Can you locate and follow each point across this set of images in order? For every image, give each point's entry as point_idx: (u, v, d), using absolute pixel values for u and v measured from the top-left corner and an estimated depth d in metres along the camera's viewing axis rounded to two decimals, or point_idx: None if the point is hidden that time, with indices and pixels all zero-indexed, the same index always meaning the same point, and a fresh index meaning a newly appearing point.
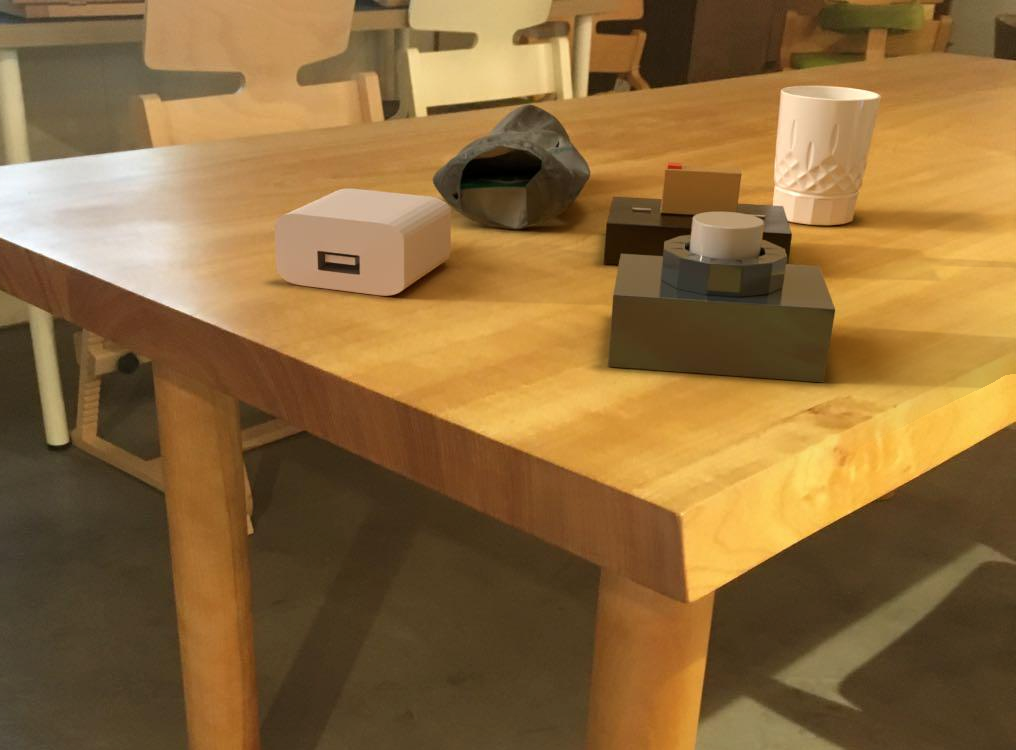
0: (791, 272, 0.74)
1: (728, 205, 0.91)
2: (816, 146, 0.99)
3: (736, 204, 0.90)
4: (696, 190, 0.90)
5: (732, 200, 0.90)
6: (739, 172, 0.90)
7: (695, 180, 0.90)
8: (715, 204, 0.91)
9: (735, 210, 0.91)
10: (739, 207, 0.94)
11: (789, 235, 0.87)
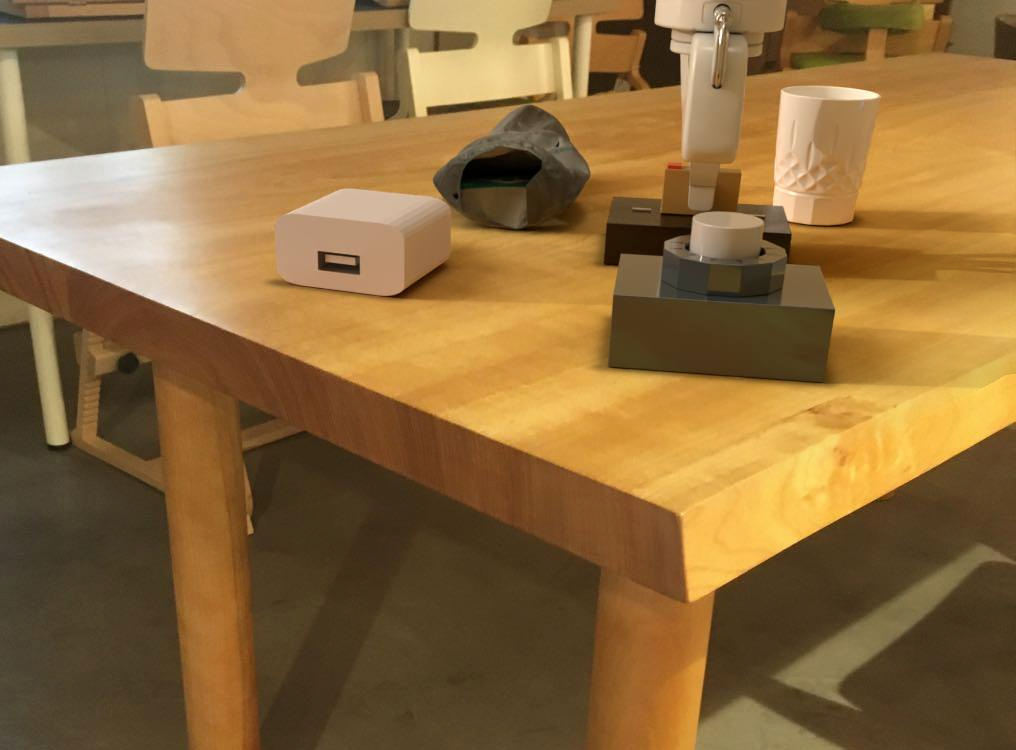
0: (791, 272, 0.74)
1: (728, 205, 0.91)
2: (816, 146, 0.99)
3: (736, 204, 0.90)
4: None
5: (732, 200, 0.90)
6: (739, 172, 0.90)
7: None
8: (715, 204, 0.91)
9: (735, 210, 0.91)
10: (739, 207, 0.94)
11: (789, 235, 0.87)
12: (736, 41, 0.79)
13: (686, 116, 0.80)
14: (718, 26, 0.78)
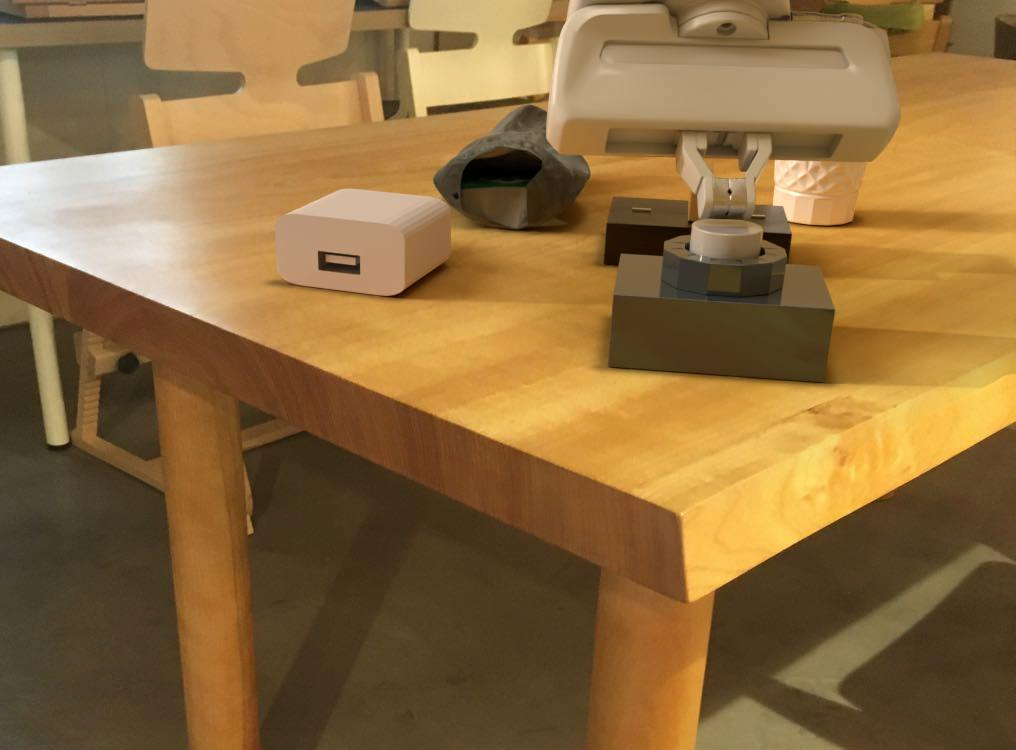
0: (791, 272, 0.74)
1: None
2: None
3: None
4: None
5: None
6: None
7: None
8: None
9: None
10: None
11: (789, 235, 0.87)
12: None
13: (893, 86, 0.71)
14: (861, 25, 0.74)
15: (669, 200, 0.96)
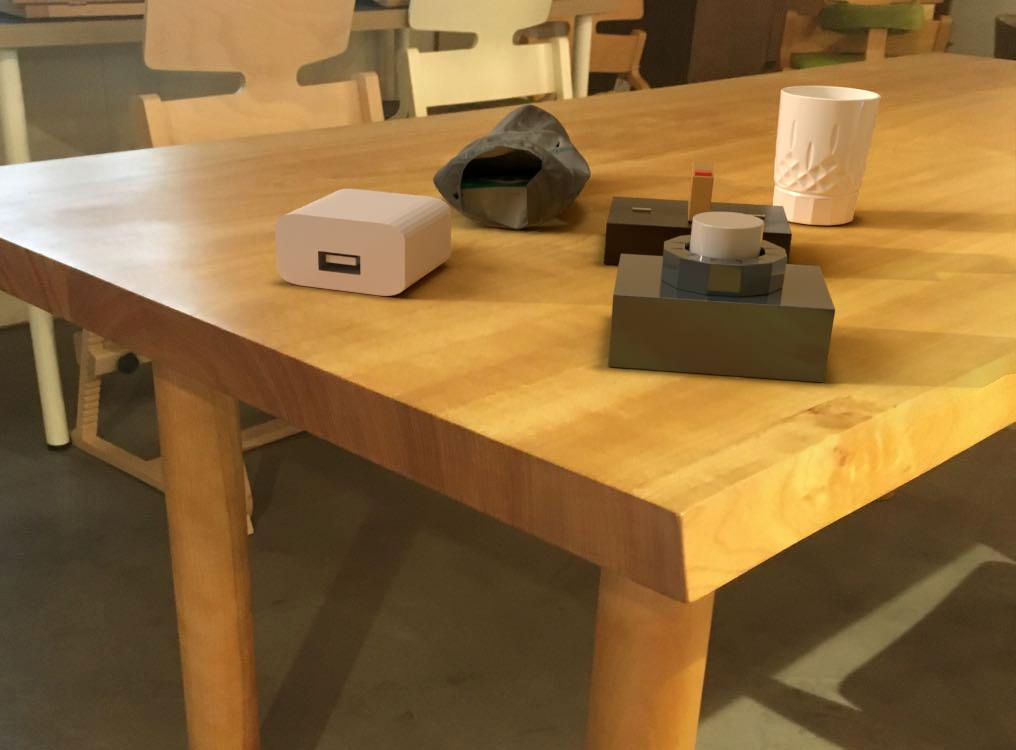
0: (791, 272, 0.74)
1: None
2: (816, 146, 0.99)
3: None
4: None
5: None
6: None
7: None
8: None
9: None
10: (739, 207, 0.94)
11: (789, 235, 0.87)
12: None
13: None
14: None
15: (669, 200, 0.96)
